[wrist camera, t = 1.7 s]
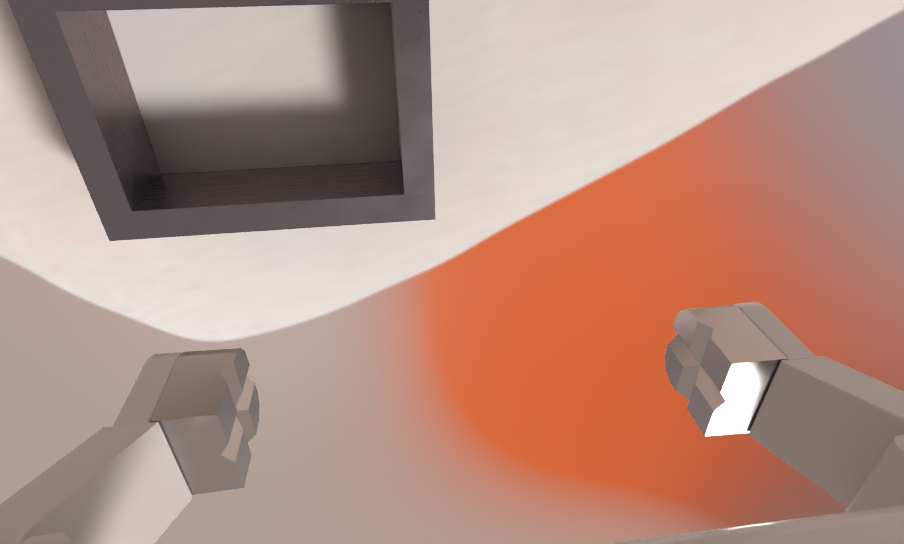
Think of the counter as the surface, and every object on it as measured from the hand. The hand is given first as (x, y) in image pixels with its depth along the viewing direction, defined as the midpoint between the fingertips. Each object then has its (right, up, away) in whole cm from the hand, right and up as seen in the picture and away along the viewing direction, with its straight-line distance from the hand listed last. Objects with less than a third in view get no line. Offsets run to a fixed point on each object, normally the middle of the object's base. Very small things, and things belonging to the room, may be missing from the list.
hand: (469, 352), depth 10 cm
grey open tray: (-9, +10, +15) cm, 20 cm away
